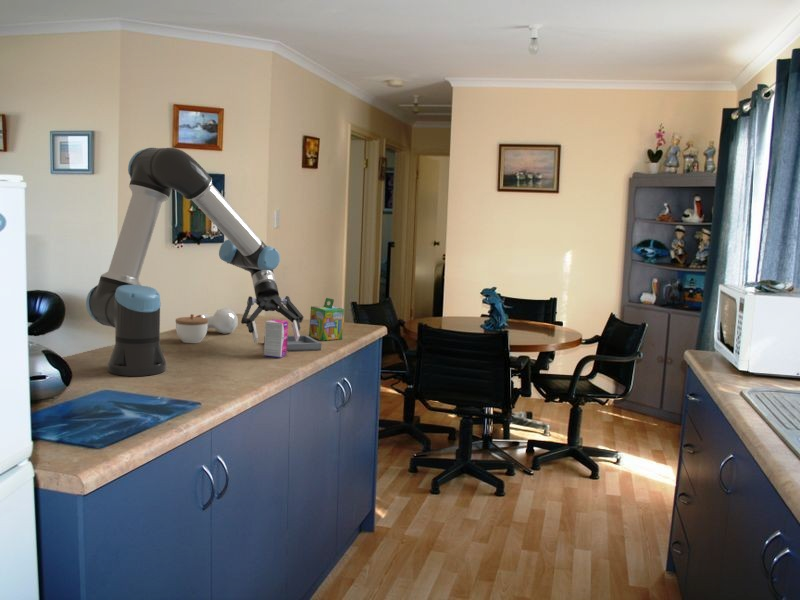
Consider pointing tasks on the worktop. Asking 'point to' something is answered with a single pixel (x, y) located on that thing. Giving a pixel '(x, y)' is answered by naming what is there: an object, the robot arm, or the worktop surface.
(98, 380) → the worktop surface
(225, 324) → the potion bottle
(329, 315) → the chalk box
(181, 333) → the lidded jar
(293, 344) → the tray
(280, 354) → the supplement box
